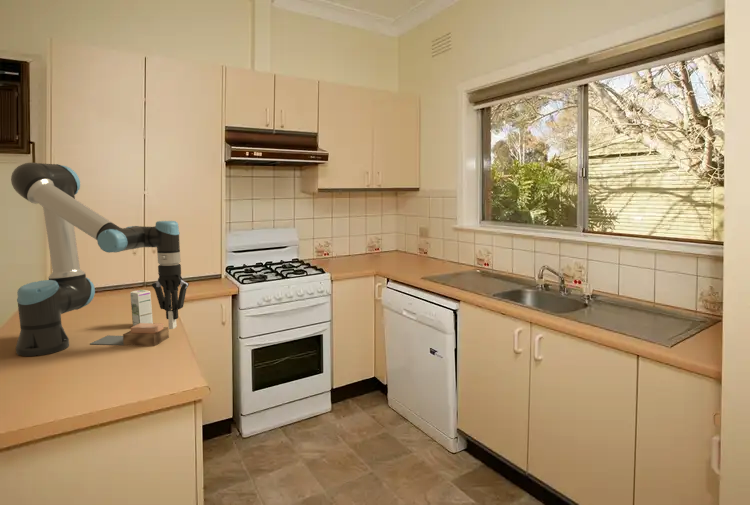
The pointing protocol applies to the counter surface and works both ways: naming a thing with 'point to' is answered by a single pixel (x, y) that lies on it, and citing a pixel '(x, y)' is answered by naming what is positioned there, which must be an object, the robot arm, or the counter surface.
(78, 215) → the robot arm
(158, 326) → the salmon orange flat block
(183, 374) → the counter surface
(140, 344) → the brown wooden flat block
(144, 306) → the syrup box
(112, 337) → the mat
